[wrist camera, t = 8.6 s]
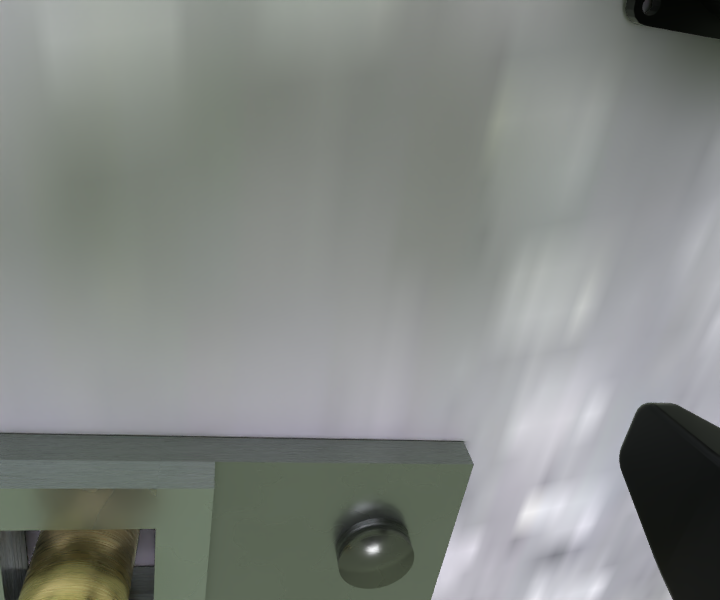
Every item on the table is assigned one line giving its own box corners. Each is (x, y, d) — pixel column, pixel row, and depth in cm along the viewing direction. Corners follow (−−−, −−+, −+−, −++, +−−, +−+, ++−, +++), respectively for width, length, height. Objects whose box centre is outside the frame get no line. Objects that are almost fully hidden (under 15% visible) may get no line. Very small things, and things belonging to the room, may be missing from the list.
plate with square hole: (463, 441, 24) (492, 506, 21) (419, 587, 28) (439, 658, 25) (-398, 426, 18) (-509, 512, 16) (-311, 612, 22) (-389, 708, 19)
